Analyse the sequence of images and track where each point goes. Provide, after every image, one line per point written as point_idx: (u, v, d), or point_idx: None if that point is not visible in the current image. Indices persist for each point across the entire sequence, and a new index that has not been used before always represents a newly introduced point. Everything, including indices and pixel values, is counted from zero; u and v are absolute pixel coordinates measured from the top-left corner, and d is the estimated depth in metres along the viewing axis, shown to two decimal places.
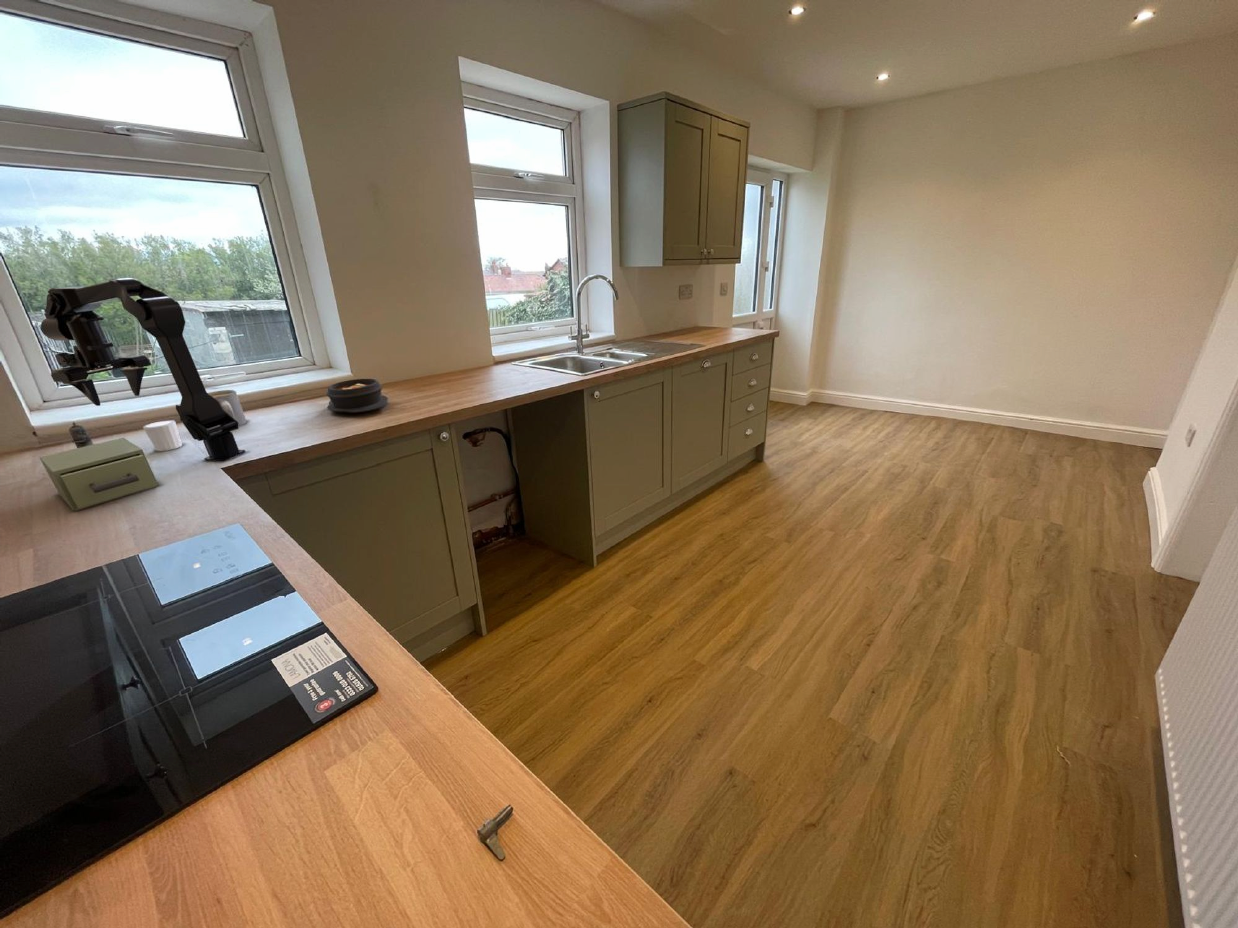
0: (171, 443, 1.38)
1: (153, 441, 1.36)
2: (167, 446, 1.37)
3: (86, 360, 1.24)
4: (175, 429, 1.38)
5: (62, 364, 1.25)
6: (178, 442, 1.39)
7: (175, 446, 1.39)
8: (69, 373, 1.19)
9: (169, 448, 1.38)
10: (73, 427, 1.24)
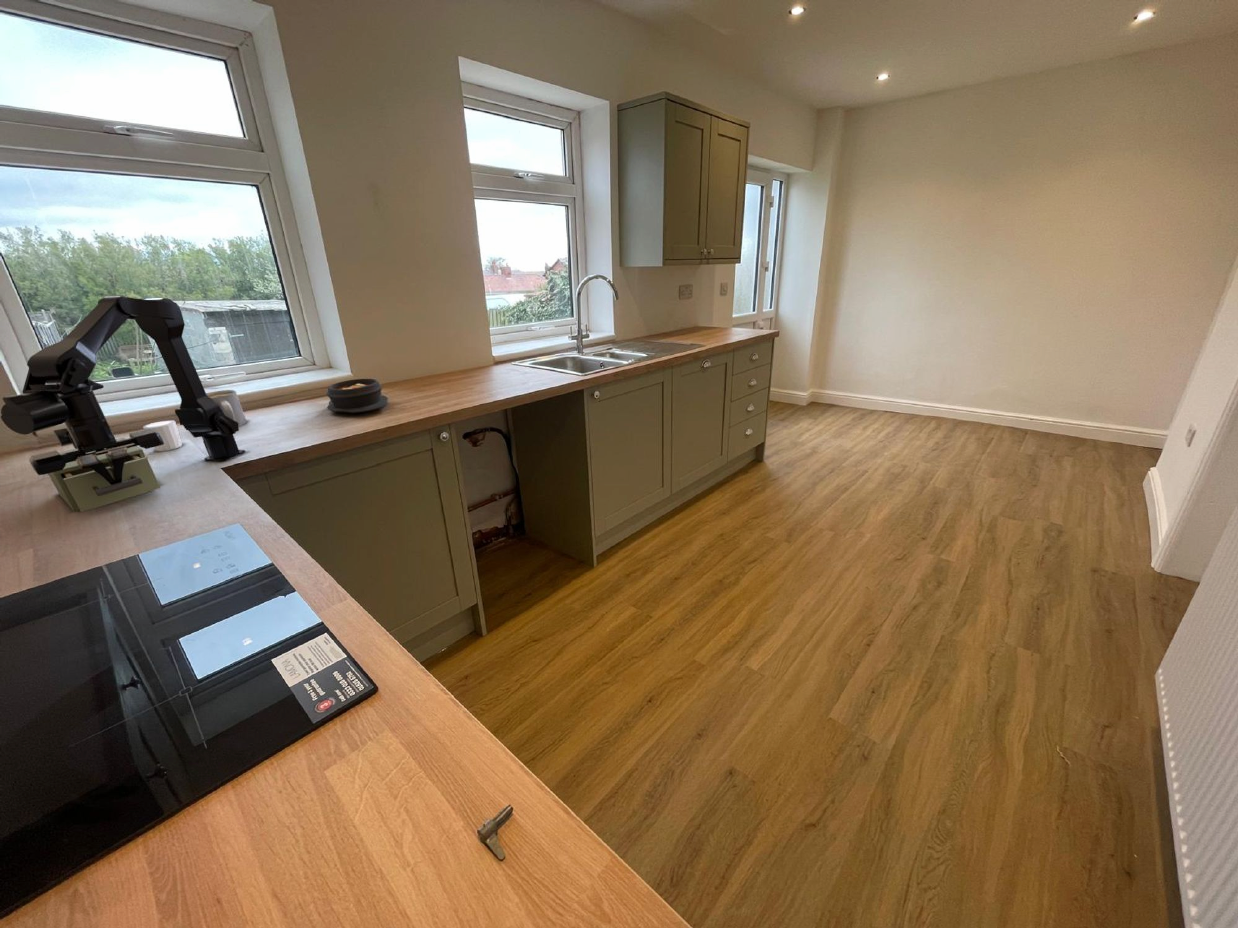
0: (171, 443, 1.38)
1: None
2: (167, 446, 1.37)
3: (74, 442, 0.98)
4: (175, 429, 1.38)
5: (60, 443, 1.00)
6: (178, 442, 1.39)
7: (175, 446, 1.39)
8: (37, 464, 0.93)
9: (169, 448, 1.38)
10: None
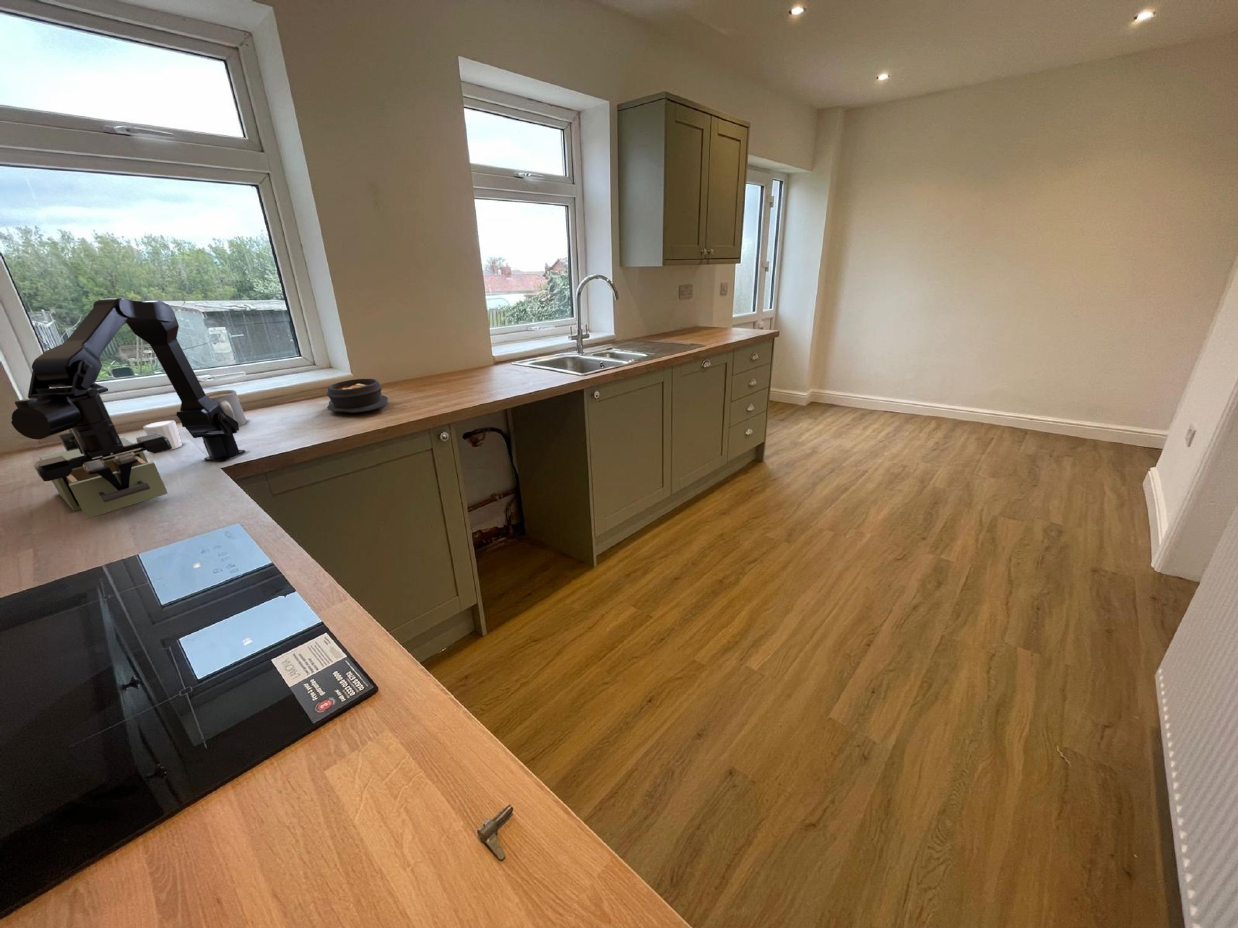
0: (171, 443, 1.38)
1: None
2: None
3: (80, 447, 0.95)
4: (175, 429, 1.38)
5: (65, 448, 0.98)
6: (178, 442, 1.39)
7: (175, 446, 1.39)
8: (43, 471, 0.90)
9: None
10: None
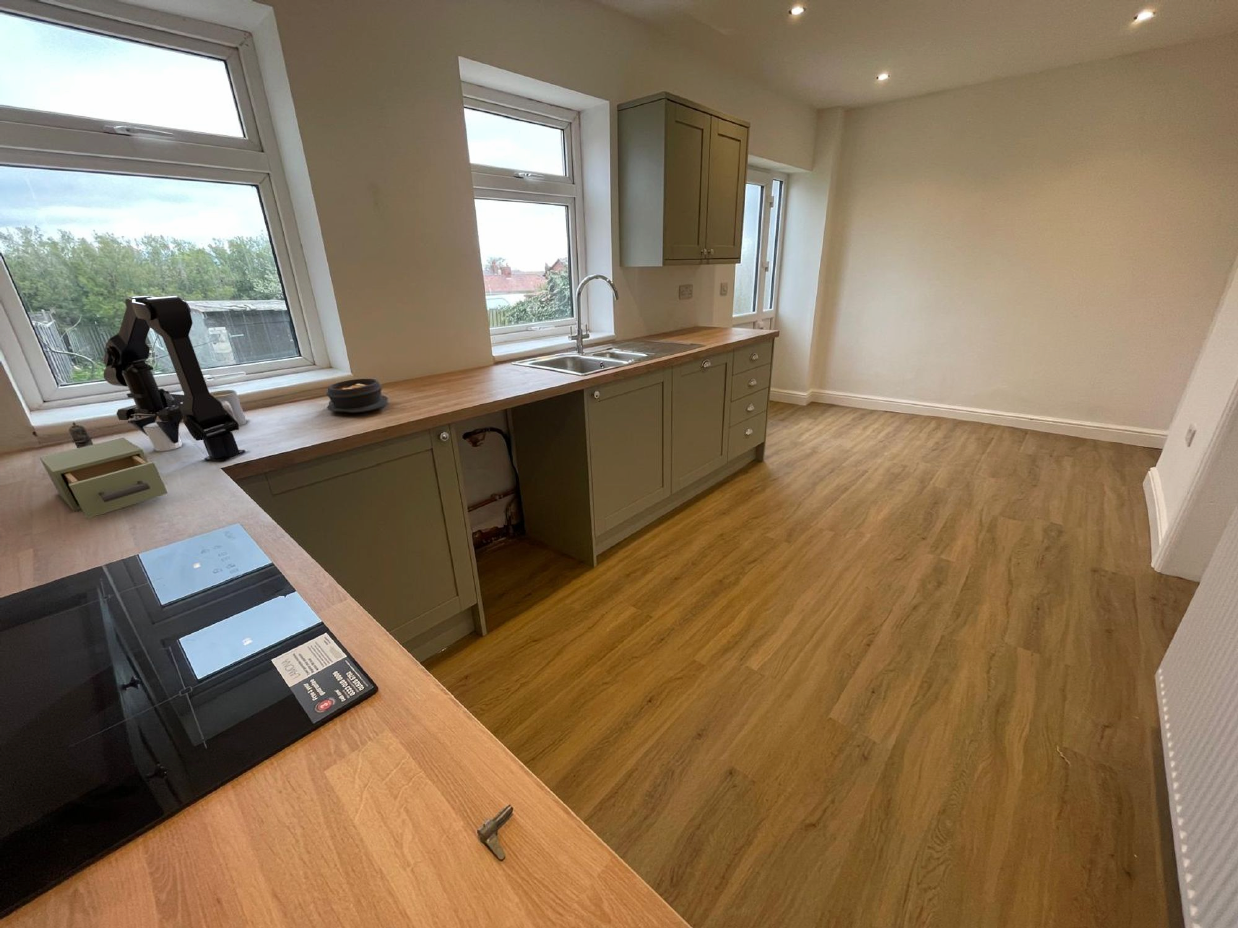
0: (171, 443, 1.38)
1: (153, 441, 1.36)
2: (167, 446, 1.37)
3: None
4: None
5: None
6: (178, 442, 1.39)
7: (175, 446, 1.39)
8: None
9: (169, 448, 1.38)
10: (73, 427, 1.24)
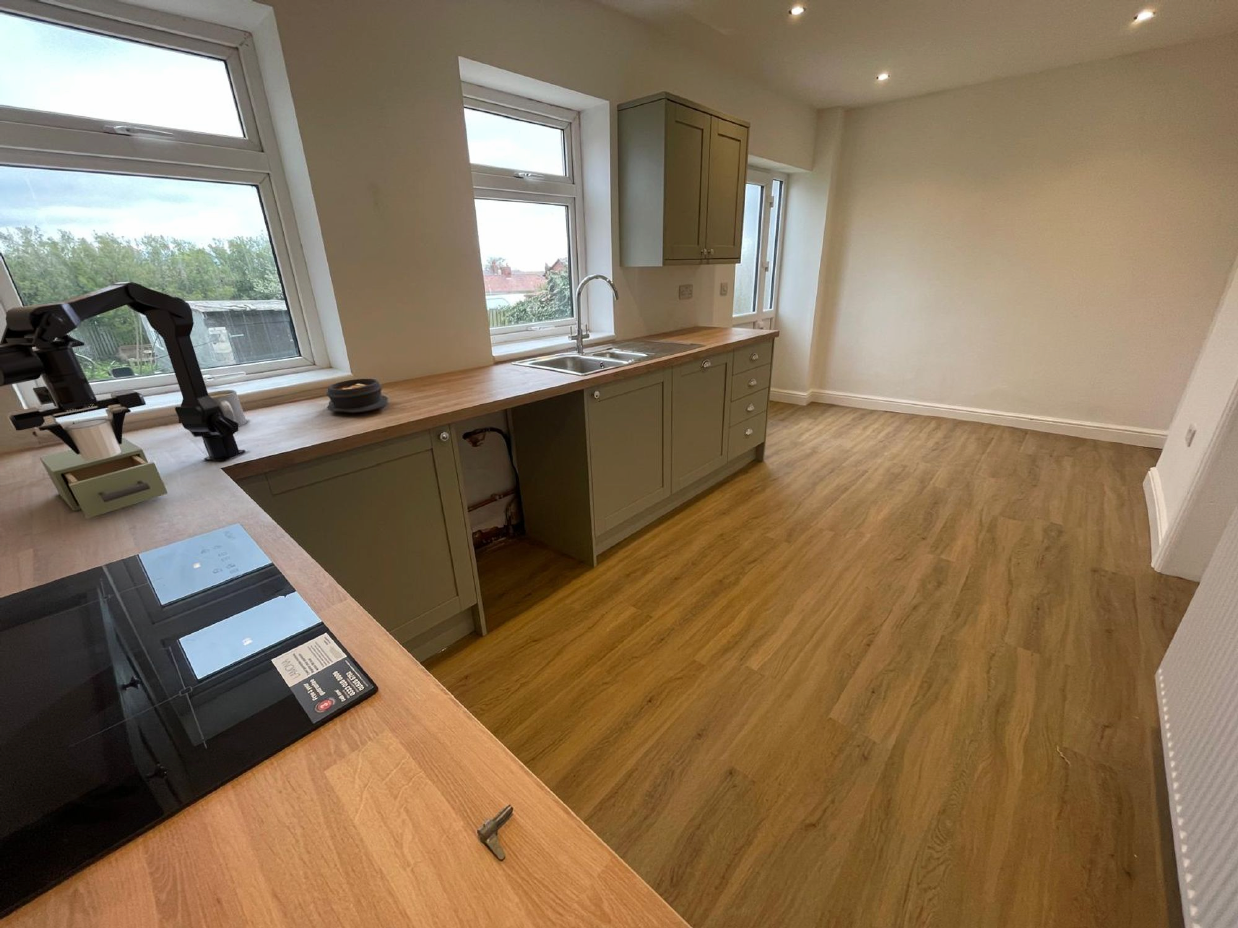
0: (118, 444, 1.04)
1: (99, 445, 1.01)
2: (117, 448, 1.04)
3: (53, 399, 0.96)
4: None
5: (39, 401, 0.99)
6: None
7: None
8: (15, 420, 0.91)
9: (118, 451, 1.04)
10: None
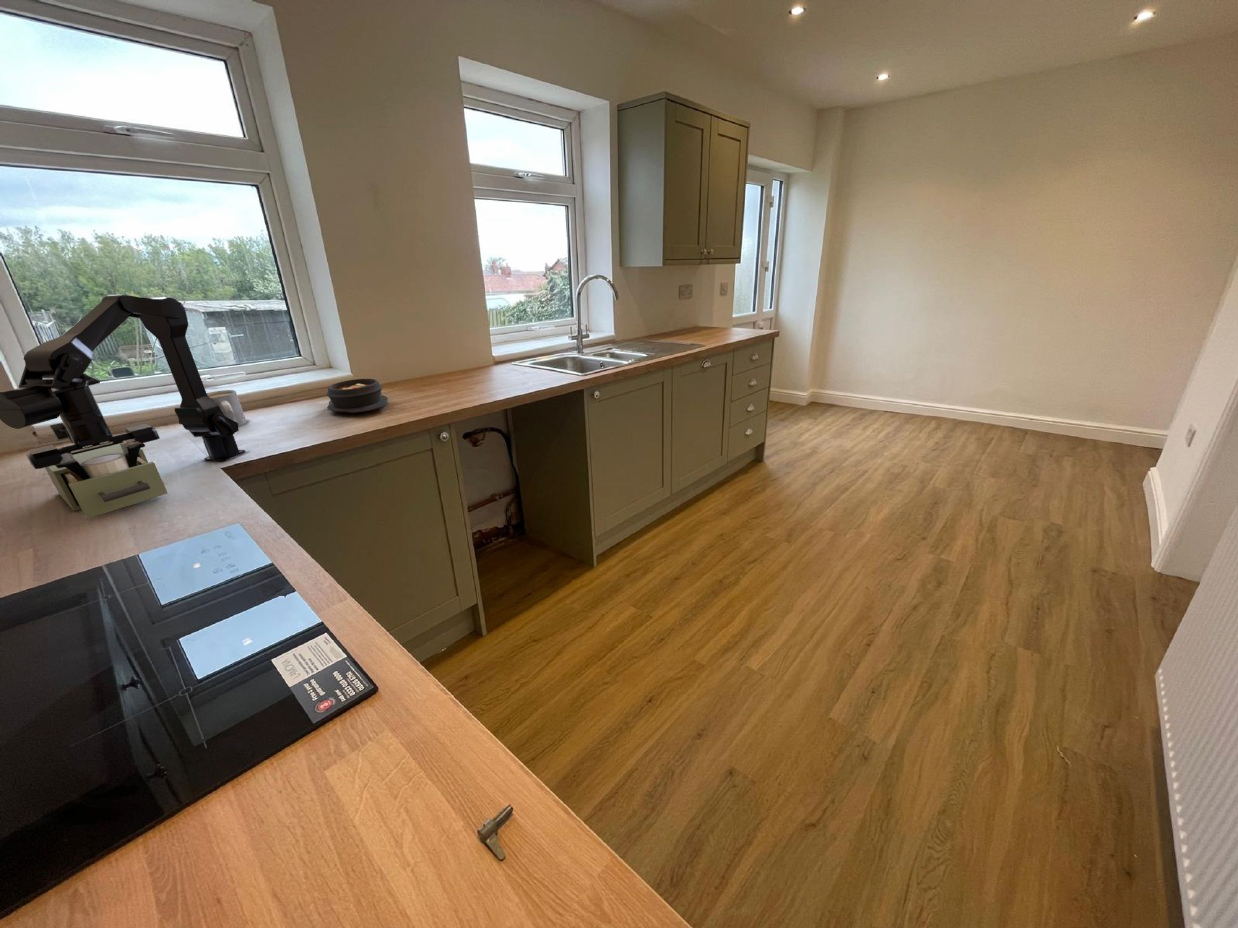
0: None
1: None
2: None
3: (70, 437, 0.99)
4: None
5: (56, 437, 1.01)
6: None
7: None
8: (34, 459, 0.94)
9: None
10: None
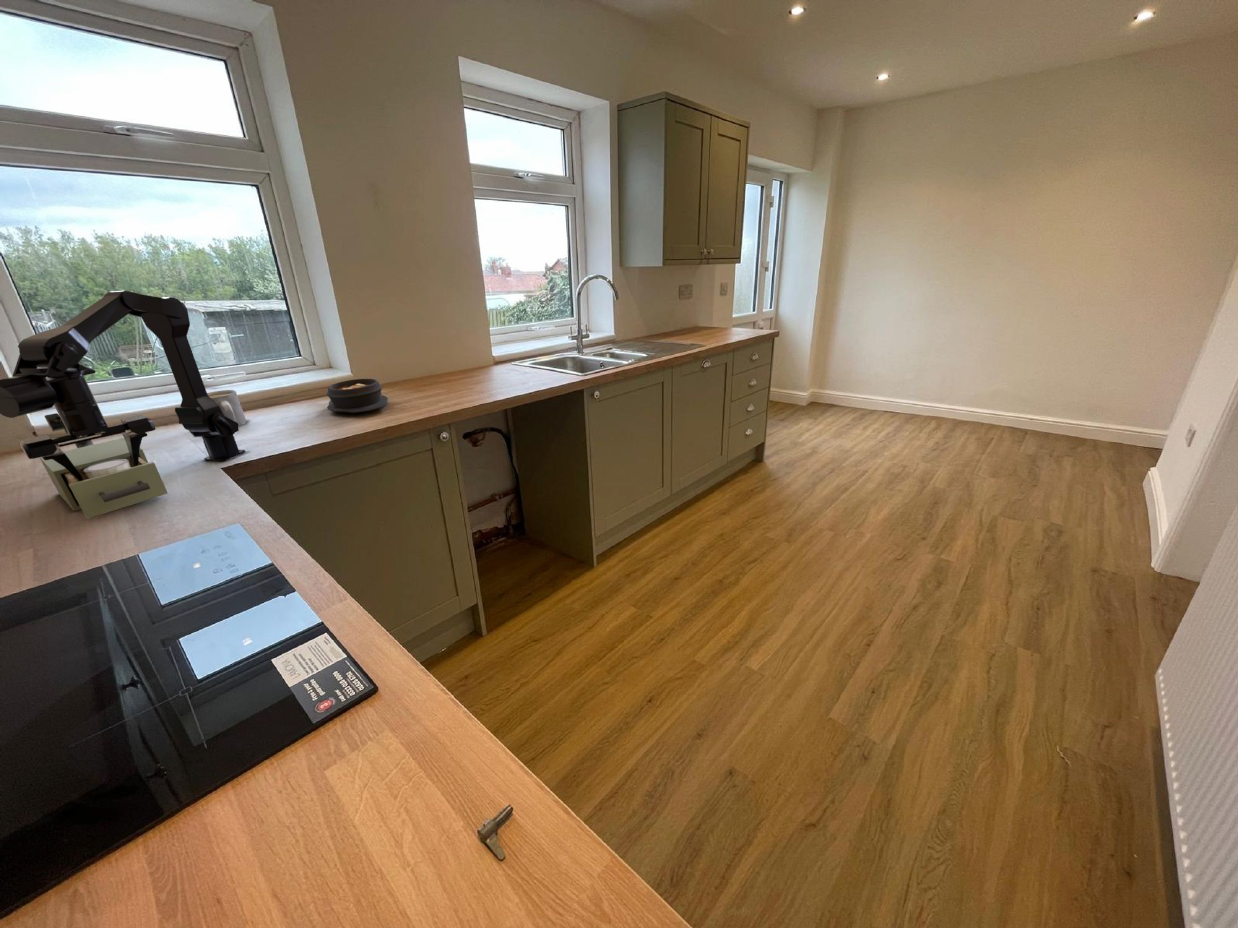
0: None
1: None
2: None
3: (65, 427, 0.98)
4: None
5: (51, 428, 1.01)
6: None
7: None
8: (28, 448, 0.93)
9: None
10: None
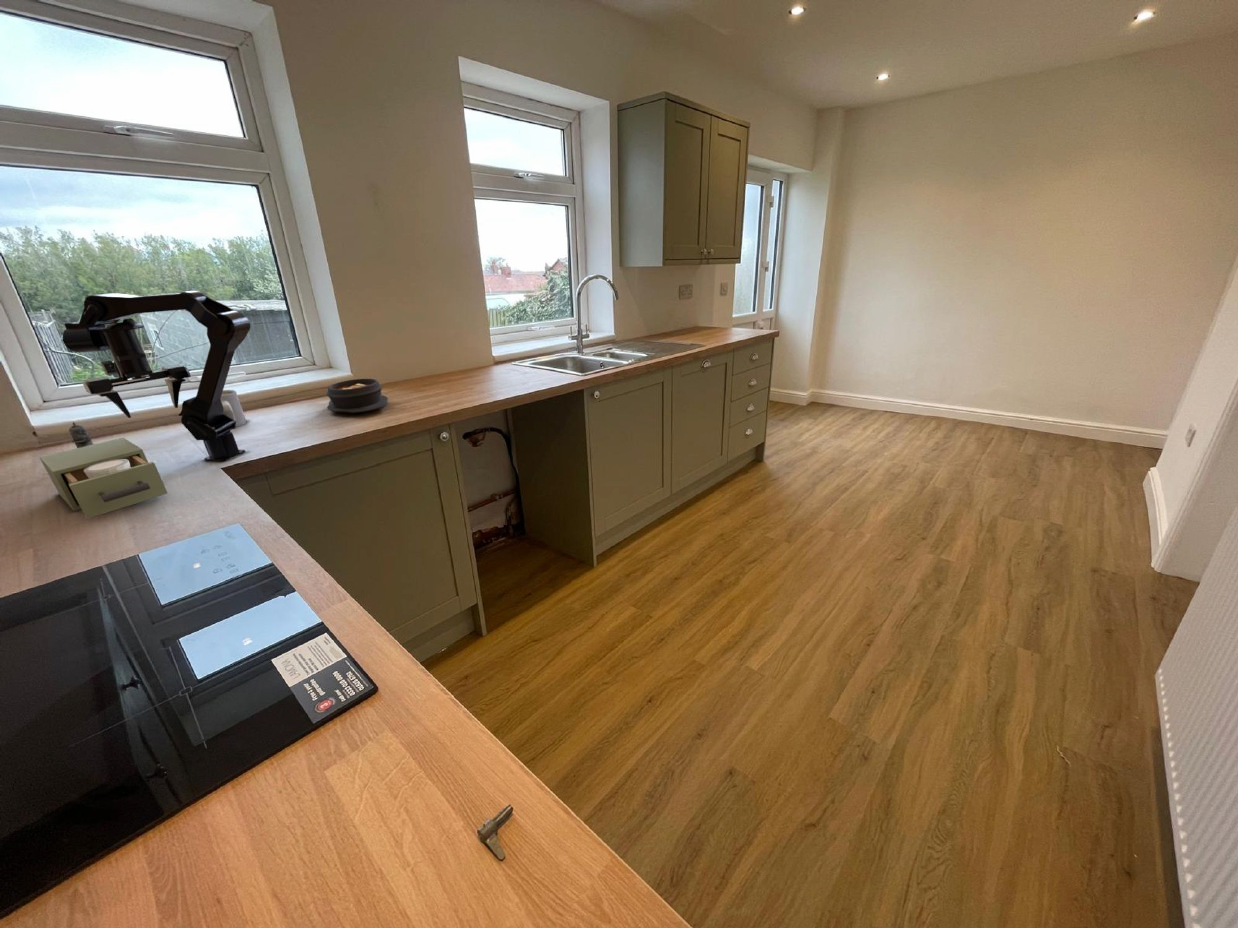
0: None
1: None
2: None
3: (119, 370, 1.18)
4: None
5: (106, 372, 1.21)
6: None
7: None
8: (91, 385, 1.13)
9: None
10: (73, 427, 1.24)
